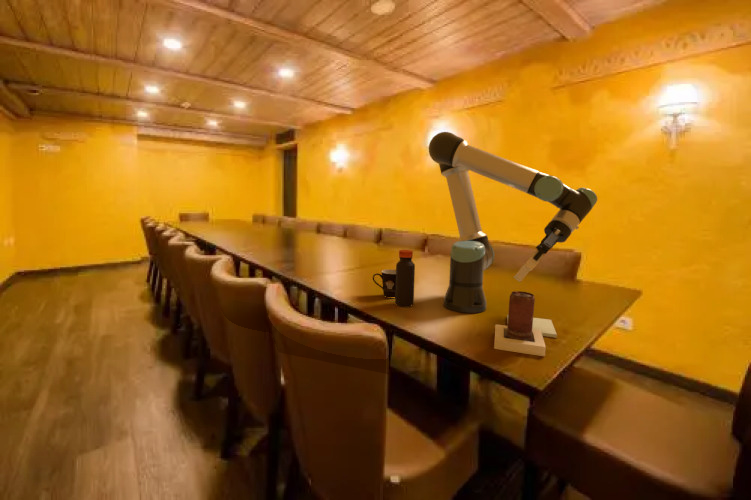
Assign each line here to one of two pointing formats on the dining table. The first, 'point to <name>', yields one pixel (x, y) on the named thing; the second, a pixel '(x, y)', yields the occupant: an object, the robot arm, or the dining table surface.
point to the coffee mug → (388, 282)
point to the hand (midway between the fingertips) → (521, 274)
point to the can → (520, 316)
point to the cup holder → (519, 342)
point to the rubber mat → (543, 327)
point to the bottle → (405, 279)
